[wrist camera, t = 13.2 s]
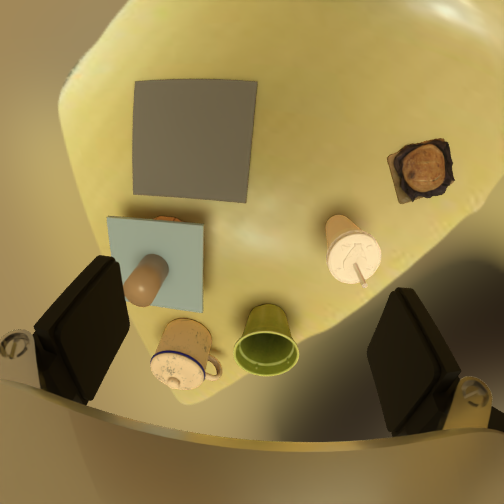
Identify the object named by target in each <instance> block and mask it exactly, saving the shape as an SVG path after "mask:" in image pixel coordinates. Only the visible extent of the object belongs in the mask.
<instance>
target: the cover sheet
mask: <svg viewBox="0 0 504 504" xmlns="http://www.w3.org/2000/svg"><path fill="white" fill-rule="evenodd" d="M107 225H108V234H109V242H110V250H111V257H114V258H115V260H116V262H119V264H120V269H121V276H122V283H123V289H124V295H125V300H126V301H128V302H131V303H132V304H134V305H136V306H139V307H146V306H149V305H152V306H158V307H165V308H171V309H178V310H185V311H192V312H199V313H203V261H204V224H199V223H188V222H177V221H166V220H155V219H143V218H131V217H118V216H108V217H107Z"/></svg>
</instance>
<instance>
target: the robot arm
mask: <svg viewBox="0 0 504 504" xmlns="http://www.w3.org/2000/svg"><path fill="white" fill-rule="evenodd" d="M129 326H130V322H129V316H128V311H127V306H126V300H125V295H124V289H123V283H122V276H121V269H120V264H119V262H116V260H115V258H114V257H109V256H102V255H99V256H97V257H96V258H95V259H94V260H93V261H92V262H91V263H90V264H89V265H88V266H87V267H86V268H85V269H84V270H83V271H82V272H81V273H80V274H79V275H78V277H77V278H76V279H75V280H74V281H73V282H72V283H71V284H70V285H69V286H68V287H67V288H66V289H65V291H64V292H63V293H62V294H61V295H60V296H59V297H58V298H57V300H56V301H55V302H54V303H53V304H52V305H51V306H50V308H49V309H48V310H47V311H46V312H45V313H44V314H43V316H42V317H41V318H40V319H39V320H38V322H37V323H36V324H35V325H34V329H35V332H34V334H33V335H32V334H31V333H30V332H29V331H26V330H21V329H18V330H13V331H10V332H8V333H7V334H5V335H4V336H3V337H2V338H1V339H0V504H504V413H502V412H501V411H499V410H497V409H496V408H494V407H492V394H491V391H490V389H489V388H488V386H487V385H486V384H485V383H484V382H483V381H482V380H480V379H478V378H476V377H471V376H467V377H464V378H463V379H461V380H460V379H459V377H458V375H459V374H460V372H461V369H460V368H459V366H458V364H457V362H456V360H455V358H454V356H453V355H452V353H451V351H450V349H449V347H448V345H447V344H446V342H445V340H444V338H443V337H442V335H441V333H440V331H439V330H438V328H437V326H436V325H435V323H434V321H433V320H432V318H431V316H430V315H429V313H428V311H427V310H426V308H425V307H424V305H423V303H422V302H421V300H420V299H419V297H418V296H417V294H416V293H415V291H414V290H413V289H411V288H399V287H398V288H396V290H395V291H392V292H391V293H390V295H389V298H388V301H387V303H386V306H385V308H384V311H383V314H382V316H381V318H380V321H379V323H378V325H377V328H376V330H375V332H374V335H373V337H372V339H371V342H370V344H369V346H368V349H367V357H368V361H369V364H370V368H371V371H372V374H373V378H374V381H375V385H376V388H377V392H378V396H379V399H380V403H381V406H382V410H383V414H384V418H385V422H386V426H387V429H388V431H389V432H392V436H393V437H391V438H382V439H372V440H360V441H345V442H275V441H260V440H247V439H237V438H228V437H220V436H212V435H206V434H199V433H193V432H188V431H182V430H177V429H171V428H167V427H162V426H158V425H153V424H149V423H145V422H141V421H137V420H133V419H129V418H125V417H122V416H118V415H115V414H112V413H108V412H105V411H102V410H99V409H96V408H92V407H89V406H86V405H87V403H88V401H91V400H93V399H94V396H95V395H96V393H97V391H98V389H99V387H100V385H101V383H102V381H103V379H104V376H105V375H106V373H107V371H108V369H109V367H110V365H111V363H112V361H113V359H114V357H115V355H116V353H117V352H118V350H119V348H120V346H121V344H122V342H123V340H124V338H125V337H126V335H127V333H128V331H129Z"/></svg>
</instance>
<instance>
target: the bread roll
mask: <svg viewBox="0 0 504 504" xmlns="http://www.w3.org/2000/svg"><path fill="white" fill-rule="evenodd" d="M443 140H444V139H442V138H439V139H433V140H429V141H424V142H421V143H417V144H410V145H407V146H405V147H404V148H403V149H401V150H400V151H398V152H397V153H394V154H391V155H389V156H388V157H387V162H388V164H389V167H390V171H391V175H392V179H393V182H394V186H395V190H396V194H397V198H398V202H399V203H400V204H404V203H407V202H411V201H412V202H413V201H414V200H416V199H420V198H423V197H425V198H431V197H432V196H438V195H442V194H444V193H445V191H446V188H447V186H450V184H452V183H453V182H454V181H455V179H454V177H453V172H452V165H453V162H452V159H451V154H450V147H449V144H448V142H444V141H443Z"/></svg>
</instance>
